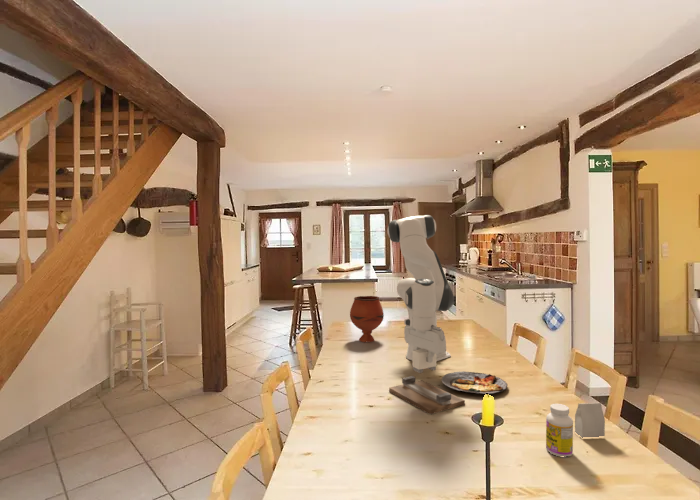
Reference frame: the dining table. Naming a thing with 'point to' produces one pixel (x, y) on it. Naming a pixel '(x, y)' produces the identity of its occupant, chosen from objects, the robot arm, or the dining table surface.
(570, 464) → the dining table surface
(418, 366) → the block
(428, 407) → the rail board
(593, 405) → the grey upright block
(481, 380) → the food plate
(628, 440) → the dining table surface
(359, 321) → the goblet
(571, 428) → the supplement bottle
